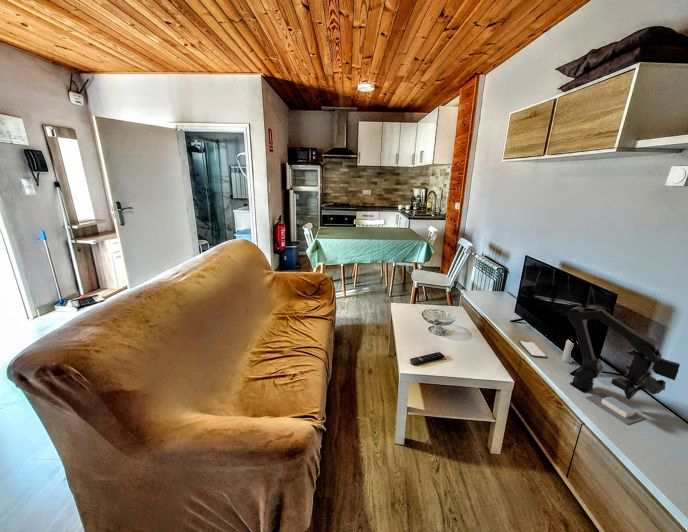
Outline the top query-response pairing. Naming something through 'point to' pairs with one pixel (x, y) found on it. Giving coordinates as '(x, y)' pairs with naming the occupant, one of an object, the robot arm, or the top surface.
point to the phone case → (532, 349)
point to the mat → (628, 420)
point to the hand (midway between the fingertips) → (628, 398)
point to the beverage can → (568, 352)
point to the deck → (618, 406)
